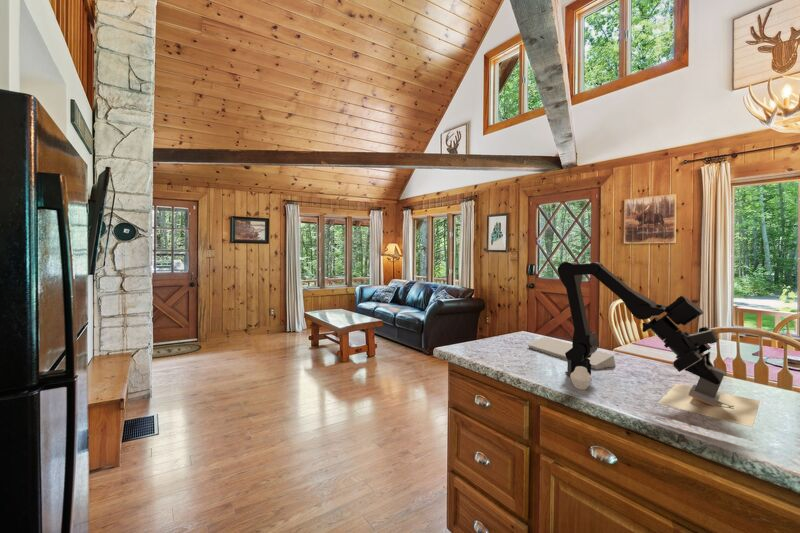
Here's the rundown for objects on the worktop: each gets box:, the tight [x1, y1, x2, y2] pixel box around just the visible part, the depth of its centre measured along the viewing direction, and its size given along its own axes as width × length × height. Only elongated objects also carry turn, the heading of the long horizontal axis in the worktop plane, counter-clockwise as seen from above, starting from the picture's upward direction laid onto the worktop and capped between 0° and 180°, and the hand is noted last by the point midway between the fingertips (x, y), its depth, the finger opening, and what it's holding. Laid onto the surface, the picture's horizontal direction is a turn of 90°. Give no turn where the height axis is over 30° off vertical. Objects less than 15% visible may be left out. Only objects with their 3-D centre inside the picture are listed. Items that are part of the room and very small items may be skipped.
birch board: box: [657, 383, 760, 428], centre depth 104 cm, size 20×24×2 cm
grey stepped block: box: [688, 364, 727, 407], centre depth 104 cm, size 6×6×9 cm
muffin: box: [569, 366, 593, 391], centre depth 119 cm, size 6×6×7 cm
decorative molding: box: [527, 336, 616, 370], centre depth 155 cm, size 34×5×10 cm
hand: (719, 382), depth 102 cm, fingers closed on grey stepped block, 3 cm apart
